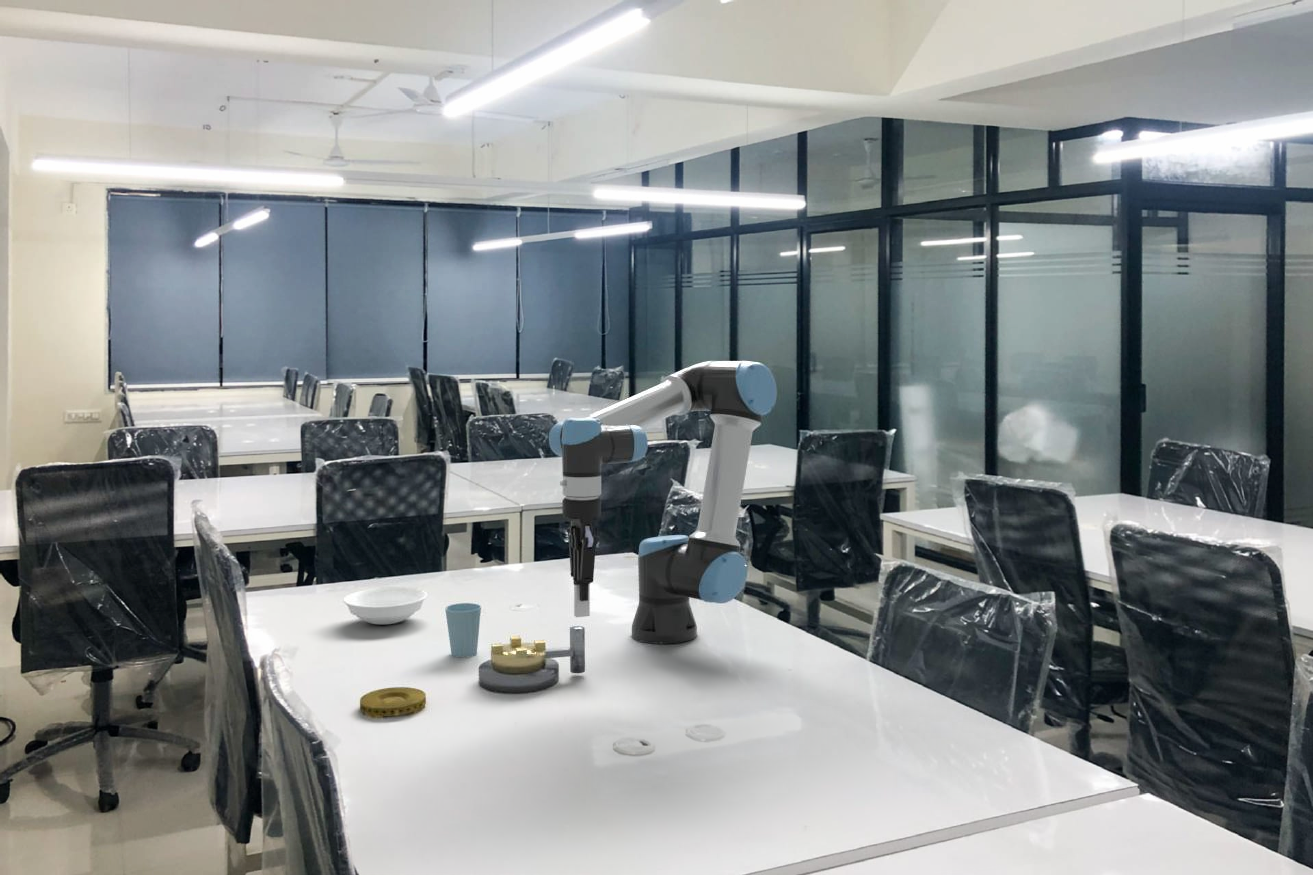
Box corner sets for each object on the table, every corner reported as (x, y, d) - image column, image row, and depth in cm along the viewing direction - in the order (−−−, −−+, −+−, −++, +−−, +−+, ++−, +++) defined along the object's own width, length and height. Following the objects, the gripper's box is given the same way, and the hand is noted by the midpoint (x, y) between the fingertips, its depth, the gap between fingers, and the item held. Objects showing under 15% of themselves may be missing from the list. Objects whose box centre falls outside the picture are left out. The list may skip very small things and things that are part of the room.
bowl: (390, 607, 277) (390, 583, 276) (444, 619, 265) (444, 594, 264) (326, 624, 261) (325, 598, 260) (381, 638, 249) (380, 610, 248)
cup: (486, 656, 234) (485, 609, 233) (451, 660, 231) (449, 613, 230) (477, 647, 241) (476, 601, 240) (443, 651, 238) (441, 605, 237)
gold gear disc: (356, 703, 206) (355, 692, 205) (419, 694, 210) (419, 683, 210) (365, 723, 195) (365, 711, 194) (431, 714, 199) (431, 702, 199)
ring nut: (494, 686, 211) (493, 641, 210) (488, 670, 221) (487, 627, 220) (590, 678, 215) (589, 634, 215) (579, 662, 226) (579, 620, 225)
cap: (551, 665, 227) (551, 650, 227) (565, 689, 212) (565, 672, 211) (475, 672, 223) (474, 656, 223) (483, 697, 208) (482, 679, 207)
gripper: (554, 493, 215) (554, 609, 217) (572, 502, 203) (572, 625, 205) (590, 491, 218) (590, 606, 220) (610, 500, 206) (610, 622, 208)
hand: (581, 615), depth 213 cm, fingers closed
